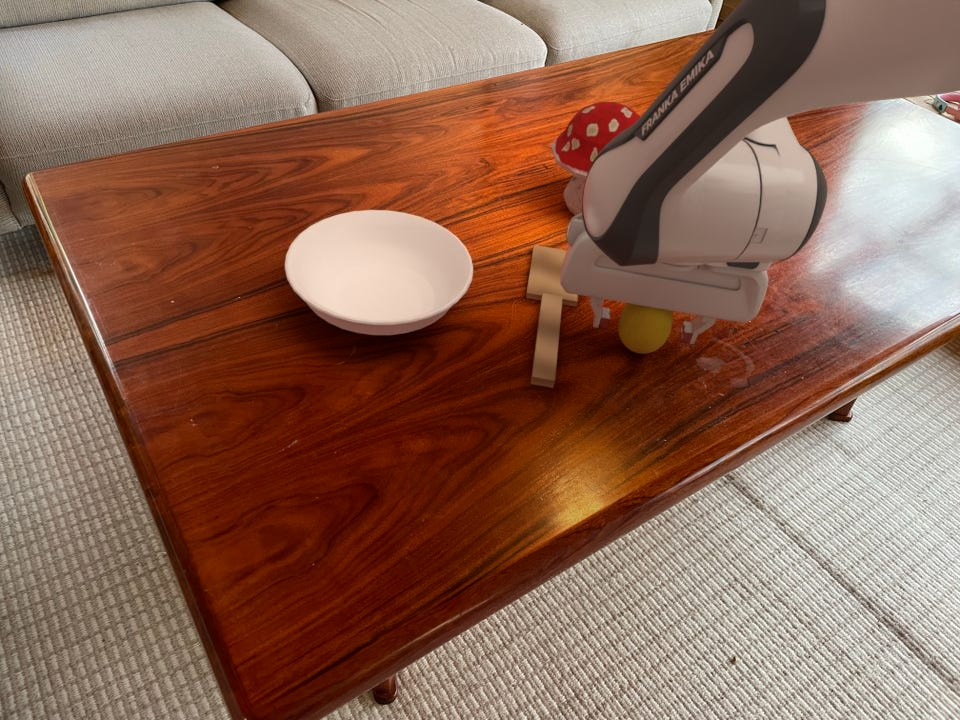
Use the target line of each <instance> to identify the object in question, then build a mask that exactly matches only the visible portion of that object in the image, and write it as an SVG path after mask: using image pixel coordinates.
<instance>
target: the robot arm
mask: <svg viewBox="0 0 960 720" xmlns="http://www.w3.org/2000/svg"><path fill="white" fill-rule="evenodd" d="M959 91H960V0H742V1H741V2H740V3H739V4H738V5H737V6H736V7H735V8H734V9H733V10H732V11H731V12H730V14H729V15H728V16H727V17H725V19H724V20H723V21H722V22H721V23H720V25H719V26H718V27H717V28H716V29H715V30H714V32H713V33H711V35H710V36H708V38H707V40H705V42H703V44H702V45H701V46H700V47H699V48H698V49H697V51H696V52H695V53H694V54H693V56H691V58H690V59H689V60H688V61H687V62H686V64H685V65H684V66H683V67H682V68H681V69H680V71H679V72H678V73H677V74H676V75H675V76H674V77H673V79H672V80H671V81H670V82H669V83H668V84H667V85H666V87H665V88H664V89H663V91H661V93H660V94H658V96H657V97H656V98H655V99H654V101H653V102H652V103H651V104H650V105H649V106H648V108H646V110H645V111H644V112H643V113H642V115H640V118H639V119H638V120H637V121H636V122H635V123H634V124H633V125H632V126H630V127H629V128H627V129H625V130H624V131H622V132H621V133H619V134H618V135H617V136H616V137H615V138H613V139H612V140H611V141H610V142H609V143H608V144H607V145H606V146H605V147H604V148H603V149H602V150H601V151H600V152H599V154H598V155H597V156H596V158H595V159H594V160H593V162H592V164H591V166H590V168H589V170H588V173H587V176H586V180H585V184H584V189H583V197H582V213H579V214H577V215H574V216H572V218H571V219H569V221H568V225H567V230H566V234H565V238H566V242H567V244H568V246H567V248H566V250H567V251H566V254H565V257H564V260H563V264H562V268H561V275H560V284H561V286H562V287H563V289H564V290H565V292H567V293H570V294H576V295H578V296H583V297H589V305H590V308H591V310H592V311H593V315H594V316H593V323H592V325H593V326H592V327H593V328H595V329H596V328H597V329H603V330H608V326H609V323H610V320H611V308H609V307H604V303H605V300H607V301H613V302H617V303H623V304H627V303H629V304H635V305H641V306H646V307H652V308H658V309H664V310H670V311H672V312H676V313H682V314H688V315H694V316H696V317H695V318H694V319H693V320H691V321H685V320H684V321H683V322H682V324H681V328H680V330H679V333H678V338H679V343H684V344H688V345H695V343H696V341H697V338H698V335H701V334H702V333H703V332H705V331H706V330H708V329H709V328H711V327H713V326H714V325H715V323H716V321H717V319H719V320H723V321H730V322H735V323H740V324H746V323H748V322H751V321H752V320H753V319H755V318H756V317H757V316H758V315H759V313H760V310H761V308H762V305H763V303H764V300H765V297H766V294H767V290H768V286H769V275H768V271H767V270H768V269H769V268H770V267H771V265H772V263H773V262H777V261H778V262H783V261H788V260H789V259H791V258H792V257H794V256H795V255H797V254H798V253H799V252H800V251H801V250H802V249H803V248H804V247H805V246H806V245H807V244H808V243H809V241H810V240H811V238H812V237H813V235H814V233H815V231H816V229H817V228H818V226H819V225H820V224H819V223H820V221H821V219H822V216H823V214H824V211H825V207H826V203H827V199H828V181H827V178H826V175H825V174H824V171H823V169H822V167H821V165H820V163H819V162H818V160H817V159H816V157H815V156H814V155H813V154H812V153H811V152H810V151H809V149H807V148H806V147H805V146H804V145H802V144H801V143H800V142H799V141H798V139H797V137H796V136H795V133H794V131H793V129H792V127H791V124H790V122H789V120H788V117H791V116H794V115H797V114H801V113H806V112H810V111H816V110H821V109H826V108H833V107H839V106H845V105H854V104H861V103H869V102H879V101H888V100H898V99H909V98H919V97H928V96H937V95H945V94H950V93H954V92H955V93H956V92H959Z"/></svg>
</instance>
